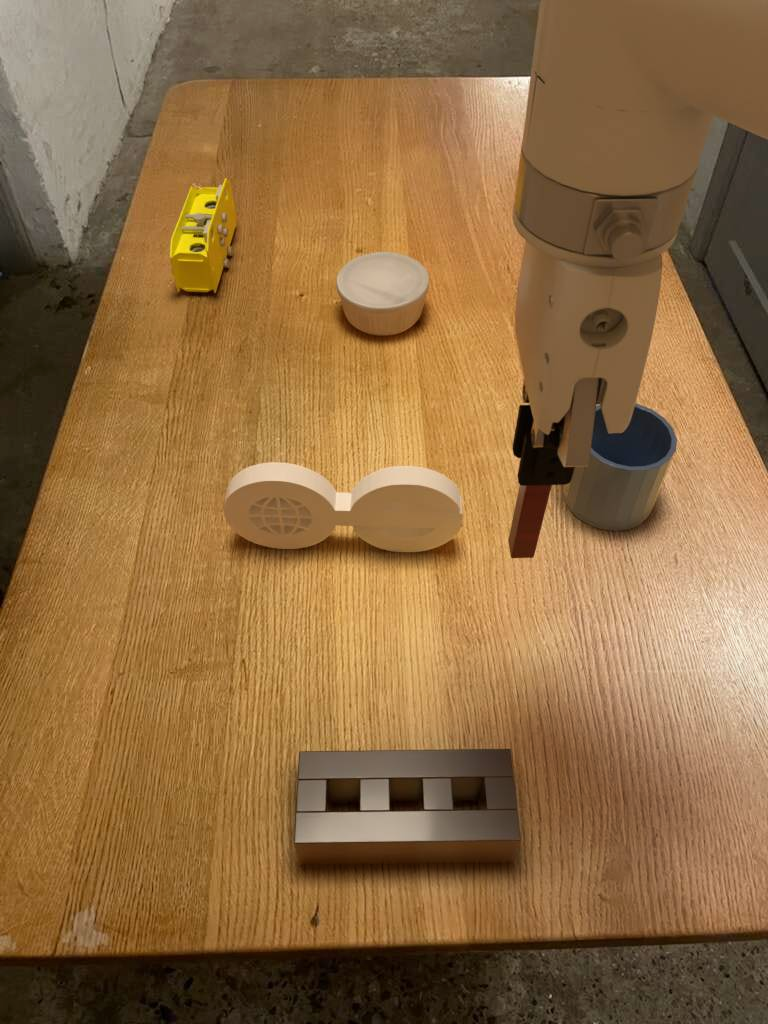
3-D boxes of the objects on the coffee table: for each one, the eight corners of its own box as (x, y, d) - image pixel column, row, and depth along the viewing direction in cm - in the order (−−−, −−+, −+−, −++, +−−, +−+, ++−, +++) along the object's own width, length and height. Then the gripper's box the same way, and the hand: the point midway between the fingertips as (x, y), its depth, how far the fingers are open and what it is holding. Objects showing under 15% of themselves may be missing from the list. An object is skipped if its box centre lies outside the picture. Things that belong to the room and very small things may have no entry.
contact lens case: (231, 547, 81) (215, 479, 73) (235, 529, 83) (219, 460, 75) (458, 553, 81) (466, 485, 73) (457, 535, 82) (465, 467, 74)
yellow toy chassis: (220, 298, 106) (210, 240, 100) (176, 296, 106) (162, 238, 100) (240, 227, 116) (232, 170, 110) (200, 226, 116) (189, 169, 110)
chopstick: (533, 558, 58) (570, 411, 47) (510, 558, 58) (542, 411, 47) (530, 539, 59) (565, 391, 48) (507, 540, 59) (538, 392, 48)
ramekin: (337, 343, 100) (335, 307, 96) (338, 287, 108) (336, 251, 103) (430, 342, 101) (432, 306, 97) (424, 286, 108) (426, 250, 104)
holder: (512, 862, 63) (521, 840, 59) (299, 864, 63) (293, 843, 59) (503, 773, 67) (510, 748, 63) (303, 776, 67) (298, 750, 63)
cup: (669, 516, 84) (696, 455, 77) (591, 541, 82) (610, 481, 75) (622, 454, 89) (643, 392, 82) (547, 477, 87) (562, 415, 80)
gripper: (735, 296, 33) (628, 569, 47) (643, 107, 42) (577, 380, 57) (543, 300, 32) (494, 573, 47) (496, 110, 42) (467, 383, 57)
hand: (540, 466), depth 52 cm, fingers closed on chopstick, 1 cm apart
